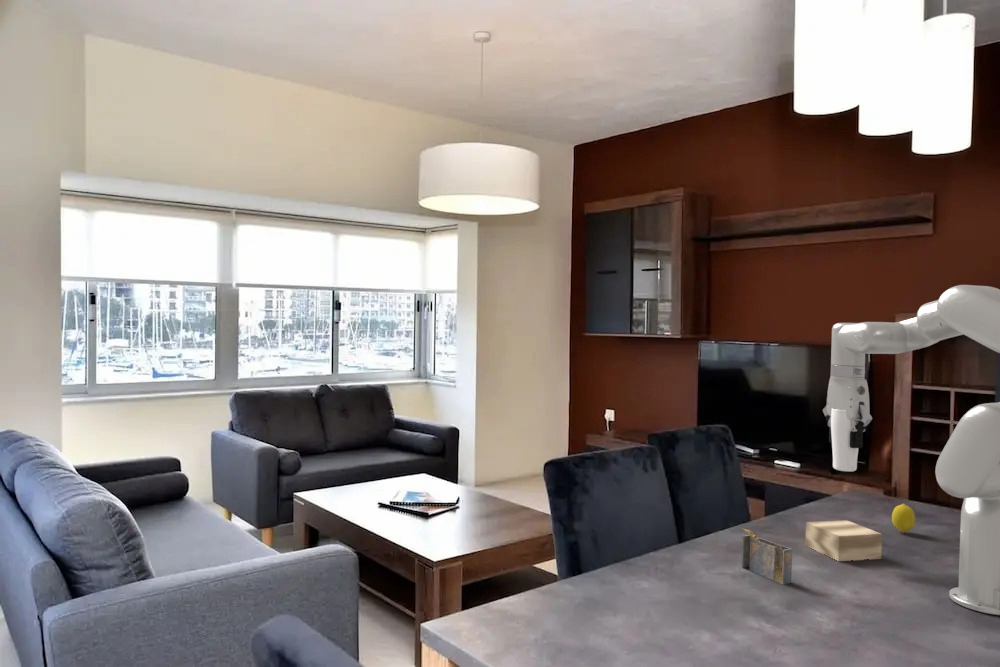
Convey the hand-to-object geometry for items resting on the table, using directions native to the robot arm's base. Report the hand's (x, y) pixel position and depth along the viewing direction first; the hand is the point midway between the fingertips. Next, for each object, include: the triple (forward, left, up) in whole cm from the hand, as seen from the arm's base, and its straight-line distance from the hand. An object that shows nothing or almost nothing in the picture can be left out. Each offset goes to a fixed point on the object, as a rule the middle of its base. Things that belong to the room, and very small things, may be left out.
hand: (845, 444), depth 173 cm
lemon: (+12, -29, -27) cm, 41 cm away
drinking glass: (0, 0, -6) cm, 6 cm away
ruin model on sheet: (-11, +29, -27) cm, 41 cm away
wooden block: (0, 0, -27) cm, 27 cm away
